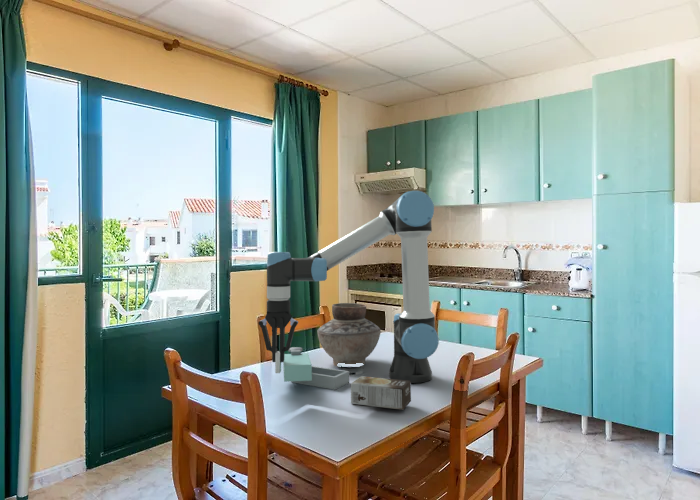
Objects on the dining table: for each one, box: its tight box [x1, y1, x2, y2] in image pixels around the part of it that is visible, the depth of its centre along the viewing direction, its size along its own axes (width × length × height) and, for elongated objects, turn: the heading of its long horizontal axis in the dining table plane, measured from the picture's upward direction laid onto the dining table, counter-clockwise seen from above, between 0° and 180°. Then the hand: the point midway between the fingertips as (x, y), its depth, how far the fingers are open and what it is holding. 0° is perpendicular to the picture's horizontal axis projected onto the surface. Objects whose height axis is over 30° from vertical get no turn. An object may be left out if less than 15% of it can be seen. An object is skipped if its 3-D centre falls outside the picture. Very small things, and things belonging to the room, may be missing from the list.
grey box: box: [290, 365, 350, 390], centre depth 165 cm, size 21×9×10 cm, turn 59°
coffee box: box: [350, 375, 412, 411], centre depth 142 cm, size 9×6×16 cm
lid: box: [282, 346, 313, 383], centre depth 161 cm, size 22×9×6 cm, turn 9°
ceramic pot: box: [317, 302, 382, 367], centre depth 189 cm, size 25×25×24 cm
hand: (278, 372), depth 155 cm, fingers closed
